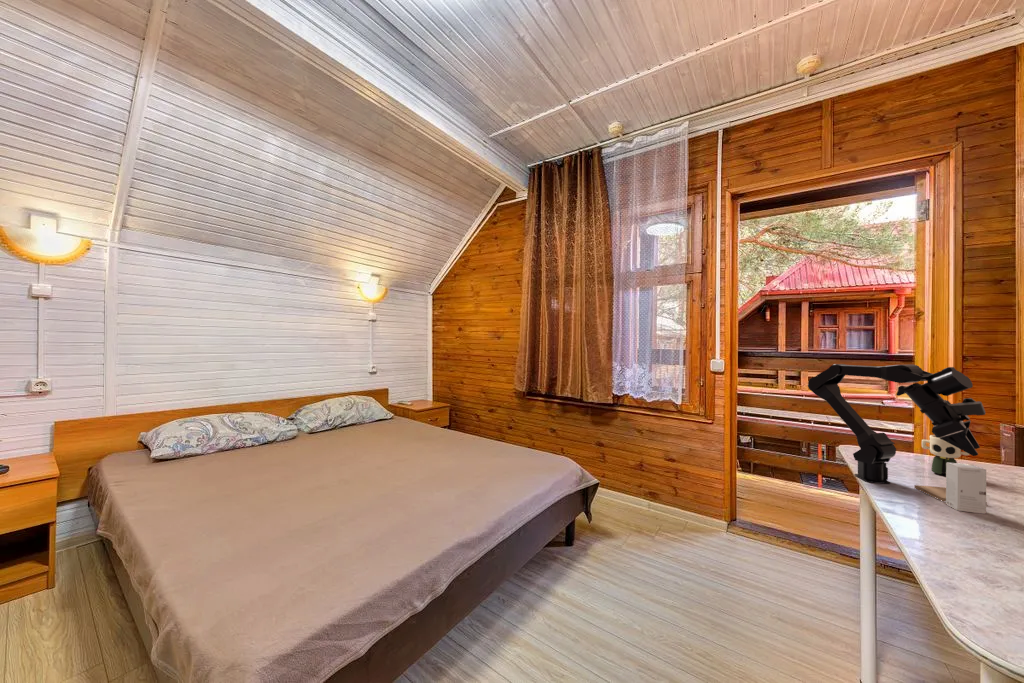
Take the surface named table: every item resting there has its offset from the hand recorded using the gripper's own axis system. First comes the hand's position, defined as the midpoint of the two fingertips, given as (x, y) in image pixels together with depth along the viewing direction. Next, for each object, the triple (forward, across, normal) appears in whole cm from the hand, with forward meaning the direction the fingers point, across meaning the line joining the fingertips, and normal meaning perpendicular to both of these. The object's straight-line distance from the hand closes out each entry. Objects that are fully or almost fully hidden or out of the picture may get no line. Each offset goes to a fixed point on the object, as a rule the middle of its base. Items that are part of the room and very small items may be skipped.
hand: (977, 451), depth 104 cm
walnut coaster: (+10, +3, +13) cm, 17 cm away
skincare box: (+12, -6, +10) cm, 17 cm away
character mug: (+9, +30, +16) cm, 35 cm away
